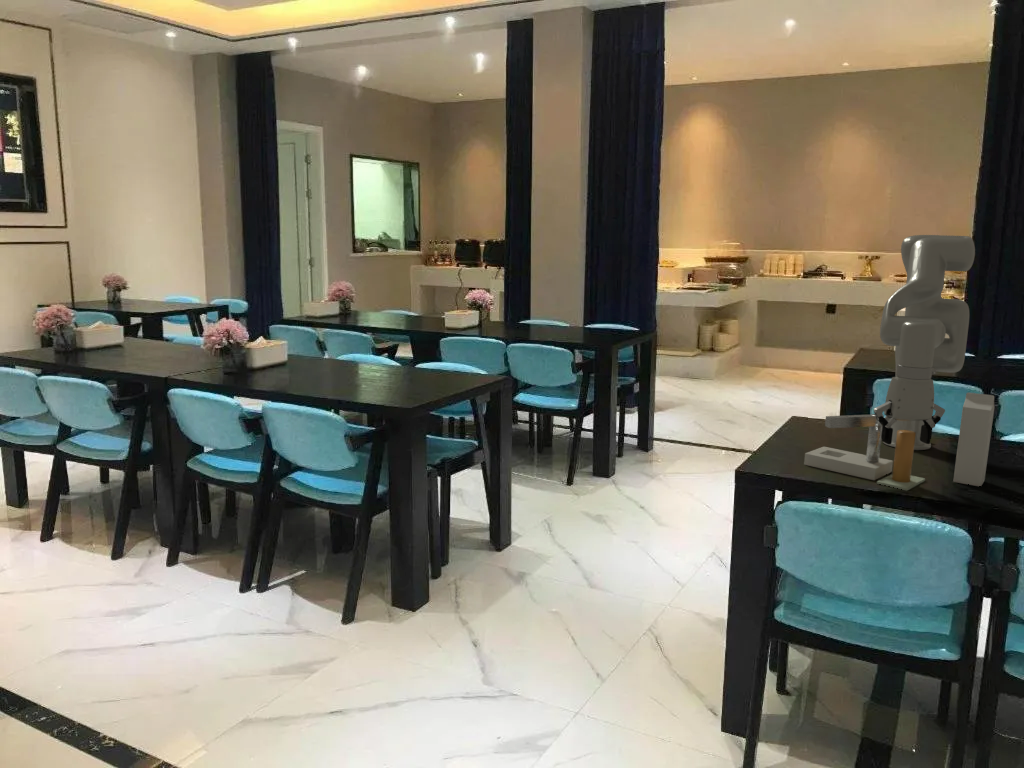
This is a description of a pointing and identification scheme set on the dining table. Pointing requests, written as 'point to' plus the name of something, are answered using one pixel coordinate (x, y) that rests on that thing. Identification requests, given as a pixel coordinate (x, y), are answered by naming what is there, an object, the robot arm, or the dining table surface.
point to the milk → (974, 439)
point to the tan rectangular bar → (903, 456)
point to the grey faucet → (861, 421)
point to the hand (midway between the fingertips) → (905, 442)
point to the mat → (901, 485)
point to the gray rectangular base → (847, 463)
